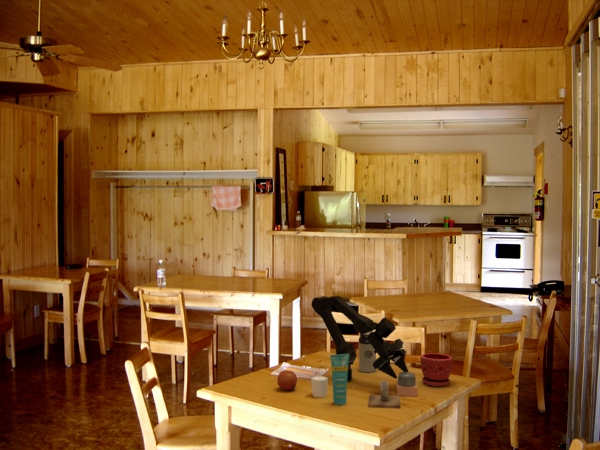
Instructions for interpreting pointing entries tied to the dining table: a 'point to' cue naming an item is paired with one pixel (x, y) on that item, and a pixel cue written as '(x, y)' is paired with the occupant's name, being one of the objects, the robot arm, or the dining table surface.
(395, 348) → the robot arm
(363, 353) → the travel mug
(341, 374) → the tube
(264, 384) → the dining table surface
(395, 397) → the square base plate
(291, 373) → the apple
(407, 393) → the stand
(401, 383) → the cap
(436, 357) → the plant pot
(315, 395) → the shot glass
